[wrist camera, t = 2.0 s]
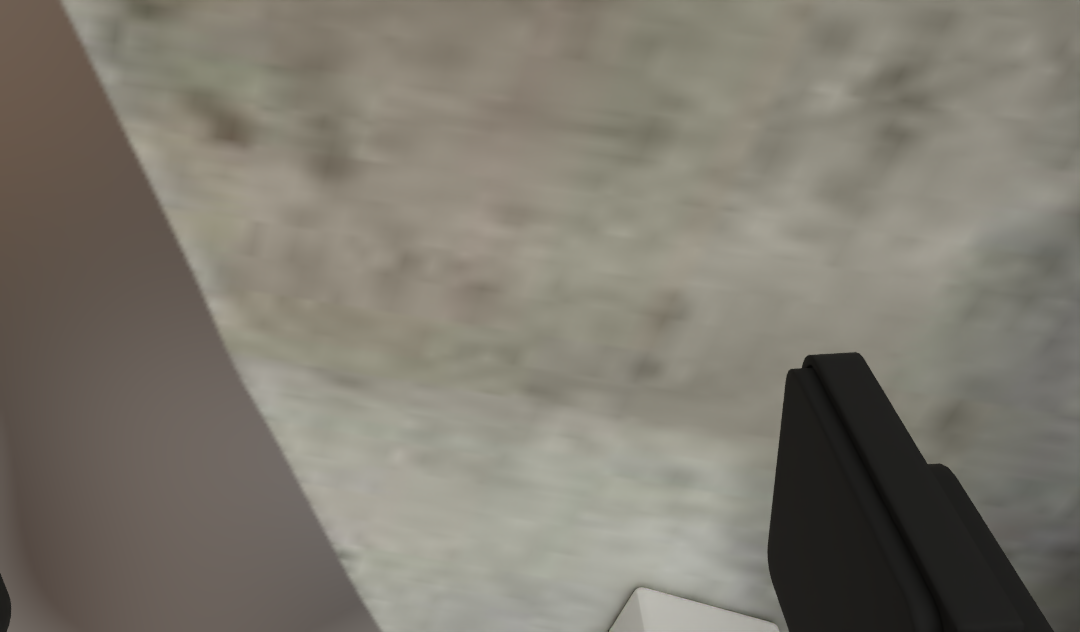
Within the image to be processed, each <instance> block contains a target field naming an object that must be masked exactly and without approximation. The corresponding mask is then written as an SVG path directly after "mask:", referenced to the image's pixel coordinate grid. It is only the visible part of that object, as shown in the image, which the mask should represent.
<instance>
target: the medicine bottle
mask: <svg viewBox="0 0 1080 632" xmlns="http://www.w3.org/2000/svg"><path fill="white" fill-rule="evenodd" d="M609 632H779V629H778V627H777V625H776V624H774V623H772V622H768V621H765V620H761V619H757V618H754V617H750V616H746V615H743V614H739V613H736V612H732V611H728V610H725V609H721V608H717V607H714V606H710V605H706V604H703V603H699V602H696V601H692V600H688V599H685V598H681V597H677V596H674V595H670V594H666V593H663V592H659V591H655V590H652V589H648V588H645V587H640V588H637V589H636V590H635V591H634V592H633V594H632V596H631V597H630V599H629V600H628V602H627V603H626V605H625V607H624V608H623V610H622V611H621V613H620V615H619V616H618V618H617V619H616V621H615V622H614V624H613V626H612V627H611V629H610V630H609Z"/></svg>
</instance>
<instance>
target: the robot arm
mask: <svg viewBox="0 0 1080 632" xmlns="http://www.w3.org/2000/svg"><path fill="white" fill-rule="evenodd" d="M768 565H769V571H770V576H771V579H772V583H773V586H774V589H775V591H776V594H777V597H778V600H779V603H780V606H781V609H782V612H783V615H784V618H785V620H786V623H787V626H788V629H789V632H1054V631H1053V630H1052V628H1051V626H1050V625H1049V623H1048V622H1047V620H1046V619H1045V617H1044V615H1043V614H1042V612H1041V611H1040V609H1039V607H1038V606H1037V604H1036V603H1035V601H1034V600H1033V598H1032V596H1031V595H1030V593H1029V592H1028V590H1027V588H1026V587H1025V585H1024V584H1023V582H1022V581H1021V579H1020V577H1019V576H1018V574H1017V573H1016V571H1015V569H1014V568H1013V566H1012V565H1011V563H1010V562H1009V560H1008V558H1007V557H1006V555H1005V554H1004V552H1003V550H1002V549H1001V547H1000V546H999V544H998V542H997V541H996V539H995V538H994V536H993V535H992V533H991V531H990V530H989V528H988V527H987V525H986V523H985V522H984V520H983V519H982V517H981V516H980V514H979V512H978V511H977V509H976V508H975V506H974V504H973V503H972V501H971V500H970V498H969V497H968V495H967V493H966V492H965V490H964V489H963V487H962V485H961V484H960V482H959V481H958V479H957V478H956V476H955V475H954V474H953V473H952V471H951V470H950V469H949V468H948V467H946V466H944V465H942V464H927V462H926V461H925V459H924V458H923V456H922V454H921V453H920V451H919V449H918V448H917V446H916V444H915V443H914V441H913V439H912V438H911V436H910V434H909V433H908V431H907V429H906V428H905V426H904V424H903V423H902V421H901V419H900V418H899V416H898V414H897V413H896V411H895V410H894V408H893V406H892V405H891V403H890V401H889V400H888V398H887V396H886V395H885V393H884V391H883V390H882V388H881V386H880V385H879V383H878V381H877V380H876V378H875V376H874V375H873V373H872V371H871V370H870V368H869V366H868V365H867V363H866V362H865V360H864V358H863V357H862V356H861V355H860V354H859V353H856V352H854V353H837V354H819V355H808V356H807V357H806V358H805V360H804V362H803V365H802V368H800V369H790V370H789V371H788V374H787V377H786V384H785V393H784V402H783V411H782V421H781V430H780V439H779V448H778V457H777V466H776V475H775V485H774V494H773V503H772V512H771V521H770V530H769V540H768ZM10 618H11V602H10V597H9V594H8V592H7V589H6V587H5V584H4V582H3V579H2V577H1V574H0V632H7V629H8V626H9V622H10Z"/></svg>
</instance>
